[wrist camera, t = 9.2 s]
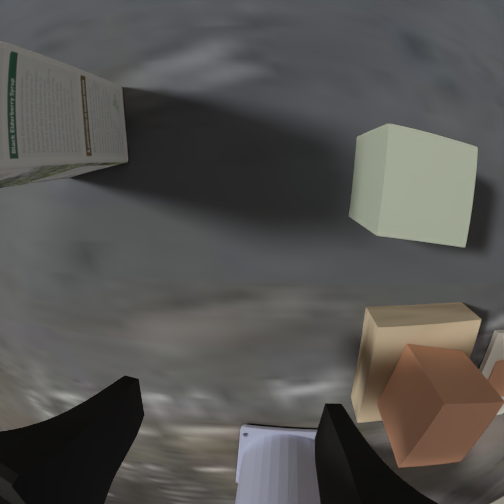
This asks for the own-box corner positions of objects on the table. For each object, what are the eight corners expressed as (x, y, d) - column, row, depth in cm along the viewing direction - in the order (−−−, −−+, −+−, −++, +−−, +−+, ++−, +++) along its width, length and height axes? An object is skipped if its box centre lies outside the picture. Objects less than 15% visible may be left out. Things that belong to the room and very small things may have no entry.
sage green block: (418, 226, 19) (465, 247, 13) (348, 216, 19) (376, 235, 13) (427, 151, 17) (477, 147, 12) (356, 136, 18) (388, 123, 12)
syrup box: (124, 83, 18) (-47, 17, 4) (131, 165, 19) (-64, 180, 5) (61, 107, 18) (-102, 87, 4) (67, 182, 20) (-106, 215, 6)
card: (500, 410, 22) (503, 414, 21) (453, 419, 22) (456, 424, 22) (539, 327, 19) (543, 331, 19) (494, 329, 20) (499, 334, 19)
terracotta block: (431, 406, 19) (460, 461, 13) (376, 403, 19) (398, 467, 13) (462, 351, 17) (504, 401, 11) (406, 343, 17) (444, 403, 12)
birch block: (435, 384, 22) (450, 409, 19) (350, 393, 23) (357, 422, 19) (458, 300, 20) (481, 319, 17) (364, 304, 21) (377, 327, 17)
